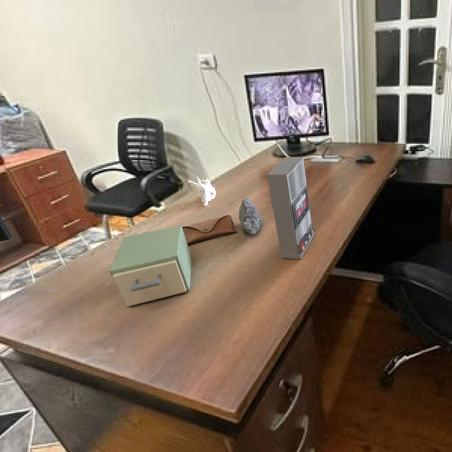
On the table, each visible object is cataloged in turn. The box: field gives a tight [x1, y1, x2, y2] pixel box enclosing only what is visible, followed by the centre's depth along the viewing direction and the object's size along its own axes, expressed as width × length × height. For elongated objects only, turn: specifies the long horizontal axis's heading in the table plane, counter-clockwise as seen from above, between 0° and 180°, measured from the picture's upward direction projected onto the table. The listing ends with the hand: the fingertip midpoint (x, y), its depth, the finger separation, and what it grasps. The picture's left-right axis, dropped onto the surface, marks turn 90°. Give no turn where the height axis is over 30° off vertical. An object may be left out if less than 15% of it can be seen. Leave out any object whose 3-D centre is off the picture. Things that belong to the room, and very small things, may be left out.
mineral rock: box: [238, 197, 262, 236], centre depth 113 cm, size 13×11×10 cm
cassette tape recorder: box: [266, 156, 316, 260], centre depth 97 cm, size 14×6×25 cm, turn 167°
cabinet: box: [108, 224, 193, 308], centre depth 91 cm, size 17×15×11 cm
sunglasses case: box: [182, 214, 238, 246], centre depth 113 cm, size 18×7×7 cm, turn 116°
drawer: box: [112, 260, 187, 307], centre depth 88 cm, size 20×14×9 cm
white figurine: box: [187, 175, 217, 207], centre depth 137 cm, size 12×8×10 cm, turn 169°
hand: (2, 239), depth 68 cm, fingers closed
